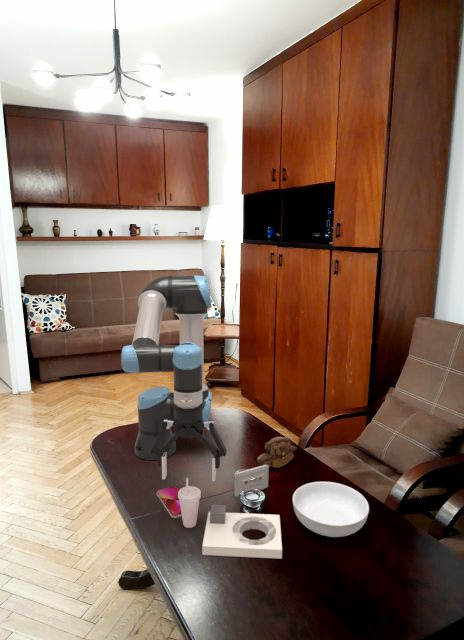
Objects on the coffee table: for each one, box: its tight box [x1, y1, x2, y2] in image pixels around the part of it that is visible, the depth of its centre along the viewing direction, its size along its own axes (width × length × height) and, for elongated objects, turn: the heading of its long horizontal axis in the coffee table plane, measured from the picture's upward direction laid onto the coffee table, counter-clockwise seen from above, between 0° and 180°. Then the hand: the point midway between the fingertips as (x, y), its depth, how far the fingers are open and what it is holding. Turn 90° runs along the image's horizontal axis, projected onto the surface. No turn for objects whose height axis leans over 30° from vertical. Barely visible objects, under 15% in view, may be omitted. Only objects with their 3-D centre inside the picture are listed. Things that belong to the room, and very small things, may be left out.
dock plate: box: [201, 504, 283, 560], centre depth 119 cm, size 14×20×6 cm
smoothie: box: [178, 477, 202, 529], centre depth 124 cm, size 6×6×14 cm
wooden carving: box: [256, 436, 298, 468], centre depth 155 cm, size 16×5×10 cm, turn 128°
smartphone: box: [155, 485, 182, 519], centre depth 135 cm, size 7×1×15 cm
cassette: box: [233, 464, 270, 497], centre depth 140 cm, size 12×2×8 cm, turn 118°
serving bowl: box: [292, 481, 370, 538], centre depth 125 cm, size 21×21×7 cm
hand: (189, 477), depth 122 cm, fingers open, 13 cm apart
